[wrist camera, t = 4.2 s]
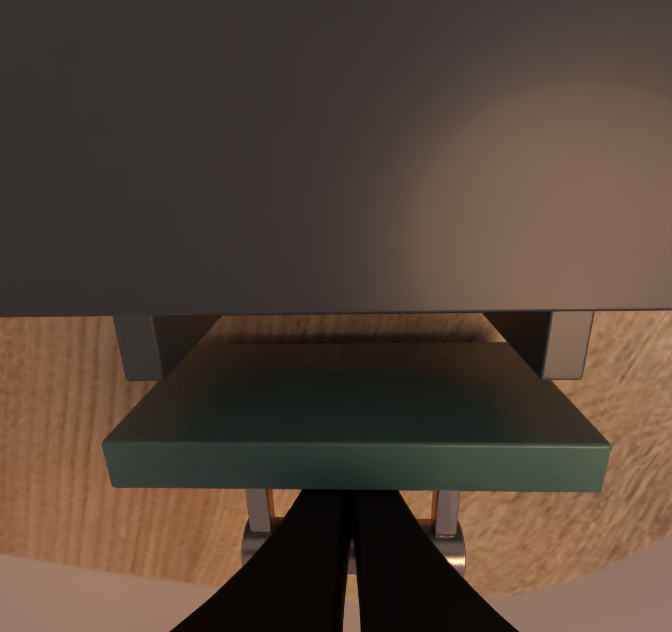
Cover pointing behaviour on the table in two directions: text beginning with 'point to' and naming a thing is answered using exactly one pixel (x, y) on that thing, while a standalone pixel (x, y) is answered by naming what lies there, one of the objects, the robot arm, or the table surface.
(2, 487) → the table surface
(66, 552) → the table surface
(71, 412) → the table surface
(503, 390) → the drawer
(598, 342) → the table surface
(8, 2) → the dark grey storage box
